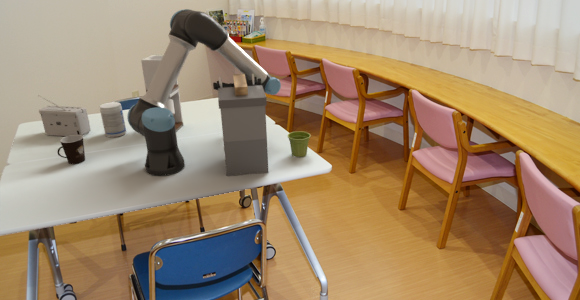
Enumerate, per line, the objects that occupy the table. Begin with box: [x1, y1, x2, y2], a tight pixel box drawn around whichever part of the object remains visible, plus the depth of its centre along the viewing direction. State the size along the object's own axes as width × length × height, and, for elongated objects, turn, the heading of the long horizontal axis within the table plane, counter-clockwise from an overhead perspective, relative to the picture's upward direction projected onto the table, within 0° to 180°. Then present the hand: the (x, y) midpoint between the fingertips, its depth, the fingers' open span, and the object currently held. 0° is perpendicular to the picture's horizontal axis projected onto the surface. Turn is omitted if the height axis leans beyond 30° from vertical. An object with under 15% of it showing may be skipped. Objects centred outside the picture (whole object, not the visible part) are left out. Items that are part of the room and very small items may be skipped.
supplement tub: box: [99, 101, 127, 138], centre depth 212 cm, size 10×10×15 cm
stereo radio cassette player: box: [37, 95, 91, 137], centre depth 213 cm, size 21×8×20 cm, turn 77°
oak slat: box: [232, 73, 248, 95], centre depth 173 cm, size 4×20×3 cm, turn 8°
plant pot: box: [287, 131, 311, 158], centre depth 186 cm, size 9×9×9 cm
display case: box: [140, 54, 184, 133], centre depth 213 cm, size 11×11×35 cm
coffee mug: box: [57, 135, 86, 165], centre depth 185 cm, size 12×9×10 cm
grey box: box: [217, 85, 270, 177], centre depth 173 cm, size 17×17×30 cm
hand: (236, 78), depth 176 cm, fingers open, 12 cm apart
